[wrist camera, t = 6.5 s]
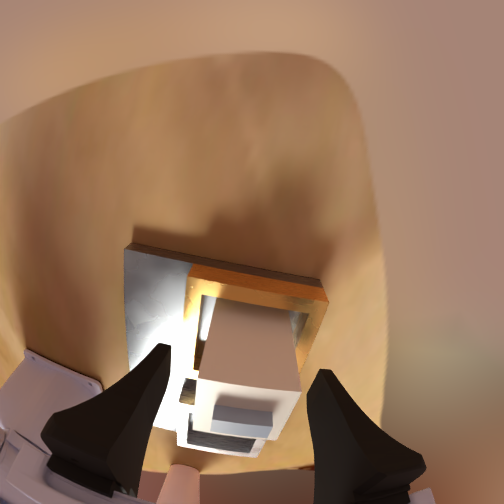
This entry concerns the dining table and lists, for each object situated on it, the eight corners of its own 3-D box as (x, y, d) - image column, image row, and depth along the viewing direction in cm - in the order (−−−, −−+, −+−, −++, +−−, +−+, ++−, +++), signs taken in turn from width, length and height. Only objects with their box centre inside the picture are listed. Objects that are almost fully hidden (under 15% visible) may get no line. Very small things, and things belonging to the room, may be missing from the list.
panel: (140, 413, 21) (133, 433, 19) (131, 242, 15) (112, 259, 13) (256, 436, 22) (256, 457, 19) (319, 279, 16) (329, 302, 13)
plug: (208, 350, 16) (190, 442, 10) (216, 297, 15) (193, 393, 9) (271, 361, 17) (276, 453, 10) (288, 309, 15) (303, 407, 9)
